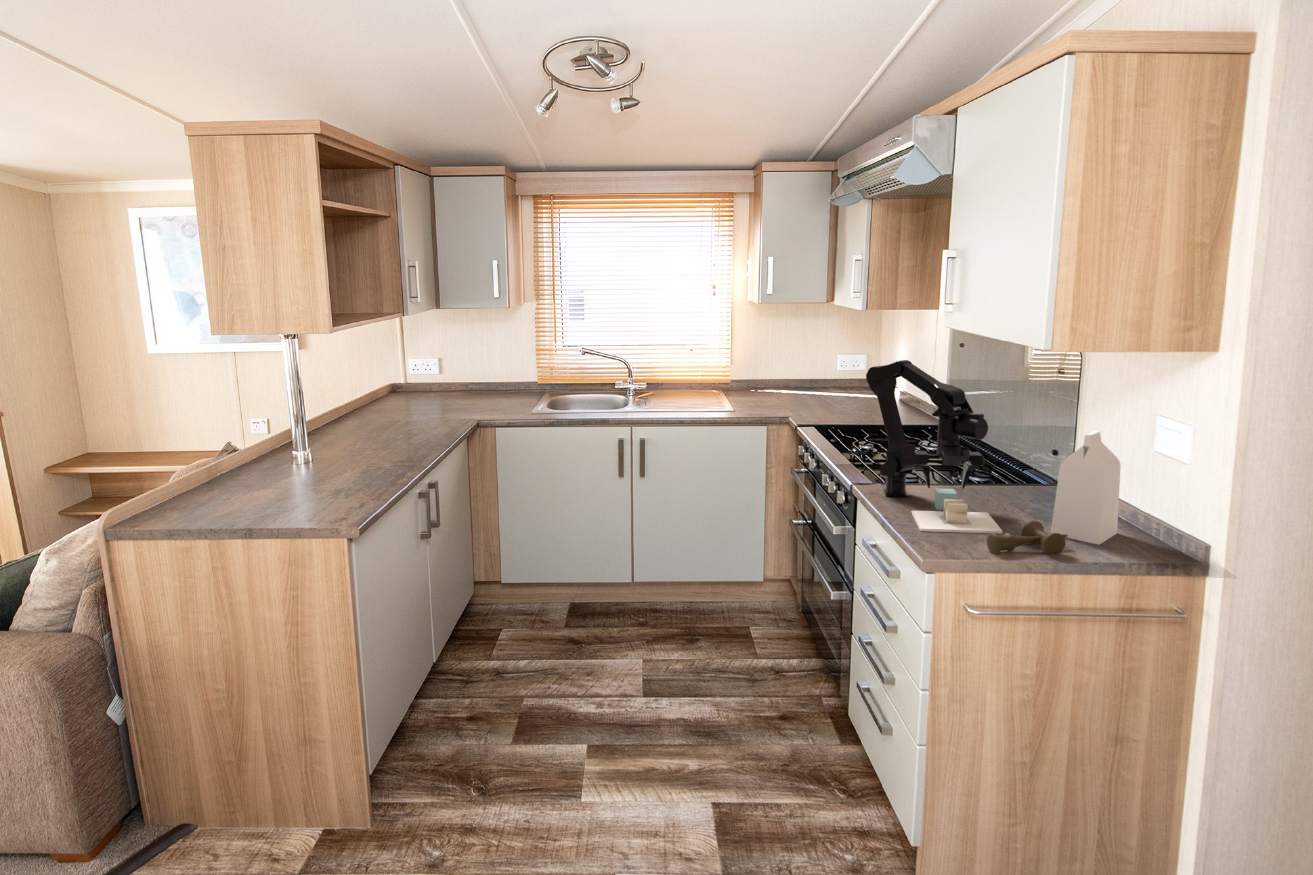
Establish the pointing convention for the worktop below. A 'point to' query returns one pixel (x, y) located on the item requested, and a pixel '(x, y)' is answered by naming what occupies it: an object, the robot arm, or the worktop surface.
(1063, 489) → the milk
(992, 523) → the baseplate
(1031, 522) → the kendama
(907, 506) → the worktop surface
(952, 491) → the teal block
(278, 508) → the worktop surface
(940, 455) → the robot arm
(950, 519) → the birch block
